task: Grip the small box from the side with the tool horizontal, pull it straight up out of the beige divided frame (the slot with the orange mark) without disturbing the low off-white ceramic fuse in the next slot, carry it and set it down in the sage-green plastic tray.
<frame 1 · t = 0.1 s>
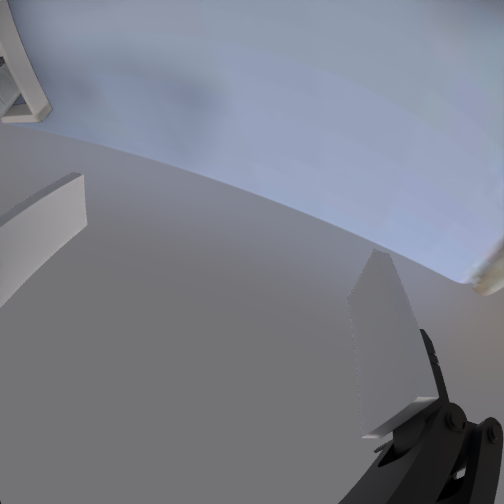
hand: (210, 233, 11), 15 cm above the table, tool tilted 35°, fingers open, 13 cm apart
small box: (14, 78, 19), resting in beige divided frame
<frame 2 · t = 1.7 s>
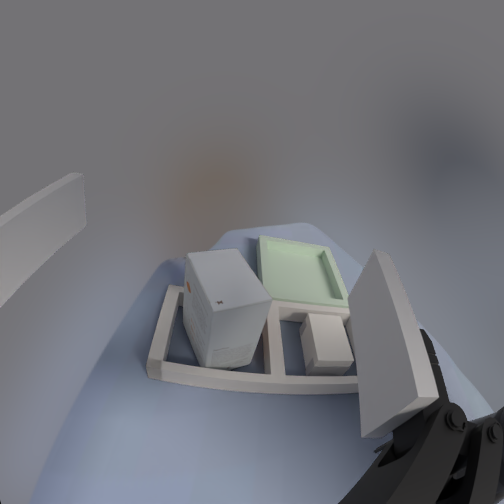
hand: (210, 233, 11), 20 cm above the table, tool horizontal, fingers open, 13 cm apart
beige divided frame: (269, 349, 31), on the table
small box: (214, 344, 30), resting in beige divided frame
tray: (297, 279, 43), on the table
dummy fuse: (319, 353, 32), resting in beige divided frame
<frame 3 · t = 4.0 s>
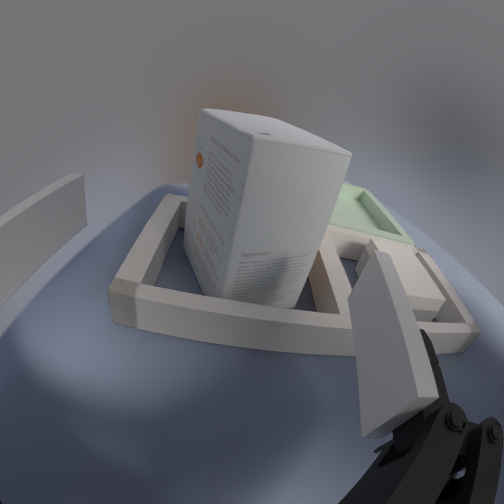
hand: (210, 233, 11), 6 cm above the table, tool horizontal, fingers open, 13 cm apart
beige divided frame: (320, 289, 20), on the table
small box: (232, 278, 19), resting in beige divided frame
tray: (337, 217, 32), on the table
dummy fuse: (387, 299, 21), resting in beige divided frame
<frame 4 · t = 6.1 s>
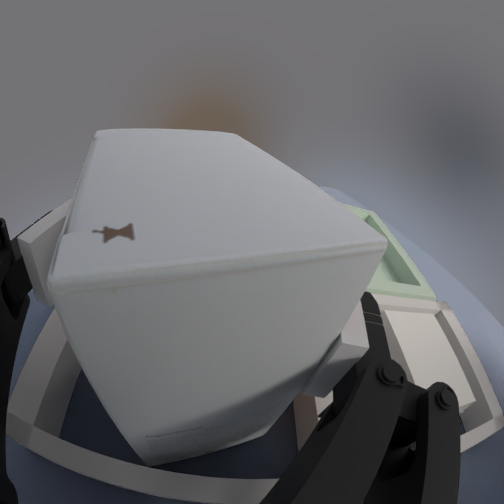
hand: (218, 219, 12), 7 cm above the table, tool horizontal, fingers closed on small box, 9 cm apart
beige divided frame: (305, 393, 13), on the table
small box: (178, 384, 12), resting in beige divided frame, touching gripper
tray: (337, 255, 25), on the table
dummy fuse: (398, 389, 14), resting in beige divided frame
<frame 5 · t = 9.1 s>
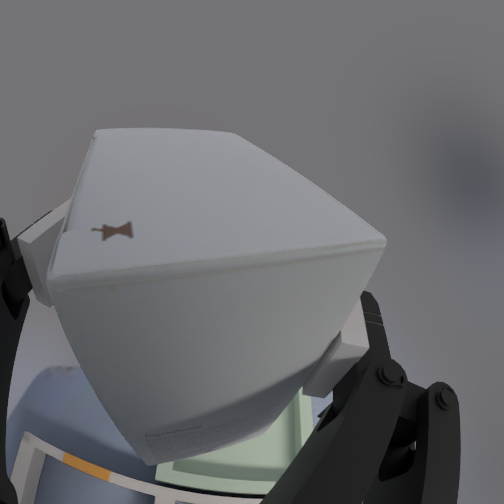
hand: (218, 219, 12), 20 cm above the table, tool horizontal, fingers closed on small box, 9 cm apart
small box: (178, 383, 12), point 13 cm above the table, touching gripper
tray: (238, 423, 22), on the table
when the fingers open (9 cm above the table, at t = 12.0 s): small box drops 2 cm, resting on tray.
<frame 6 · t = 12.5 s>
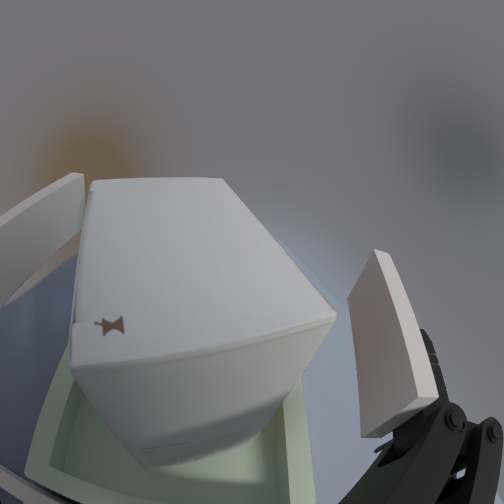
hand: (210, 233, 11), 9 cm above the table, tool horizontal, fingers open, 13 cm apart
small box: (173, 398, 13), point 1 cm above the table, touching tray
tray: (178, 402, 13), on the table
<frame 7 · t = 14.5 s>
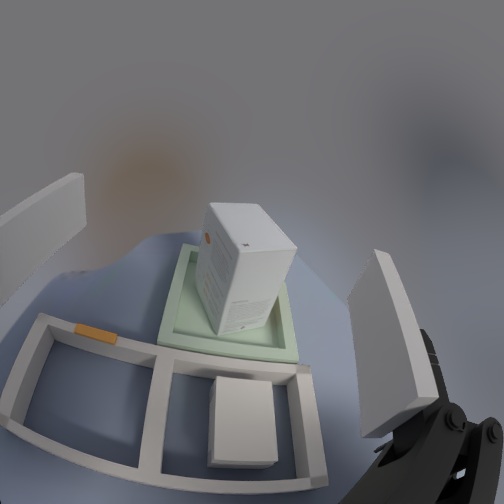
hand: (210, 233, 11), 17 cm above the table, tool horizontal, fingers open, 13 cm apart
beige divided frame: (157, 420, 18), on the table
small box: (226, 306, 30), point 1 cm above the table, touching tray
tray: (227, 309, 30), on the table
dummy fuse: (235, 430, 19), resting in beige divided frame
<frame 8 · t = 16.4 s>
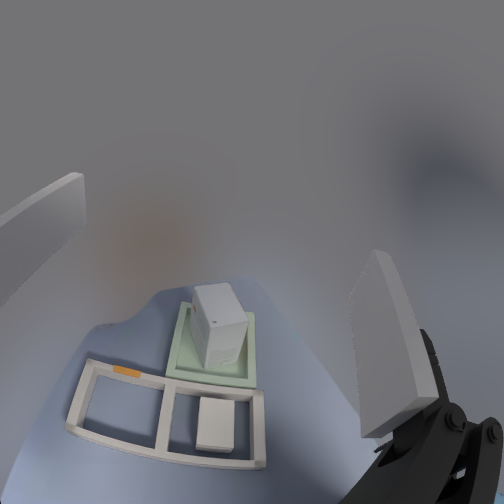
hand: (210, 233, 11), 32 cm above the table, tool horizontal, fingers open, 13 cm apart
beige divided frame: (166, 422, 31), on the table
small box: (211, 347, 42), point 1 cm above the table, touching tray
tray: (212, 349, 43), on the table
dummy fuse: (213, 429, 31), resting in beige divided frame
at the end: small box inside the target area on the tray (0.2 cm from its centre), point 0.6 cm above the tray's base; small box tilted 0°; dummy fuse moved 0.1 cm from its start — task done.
